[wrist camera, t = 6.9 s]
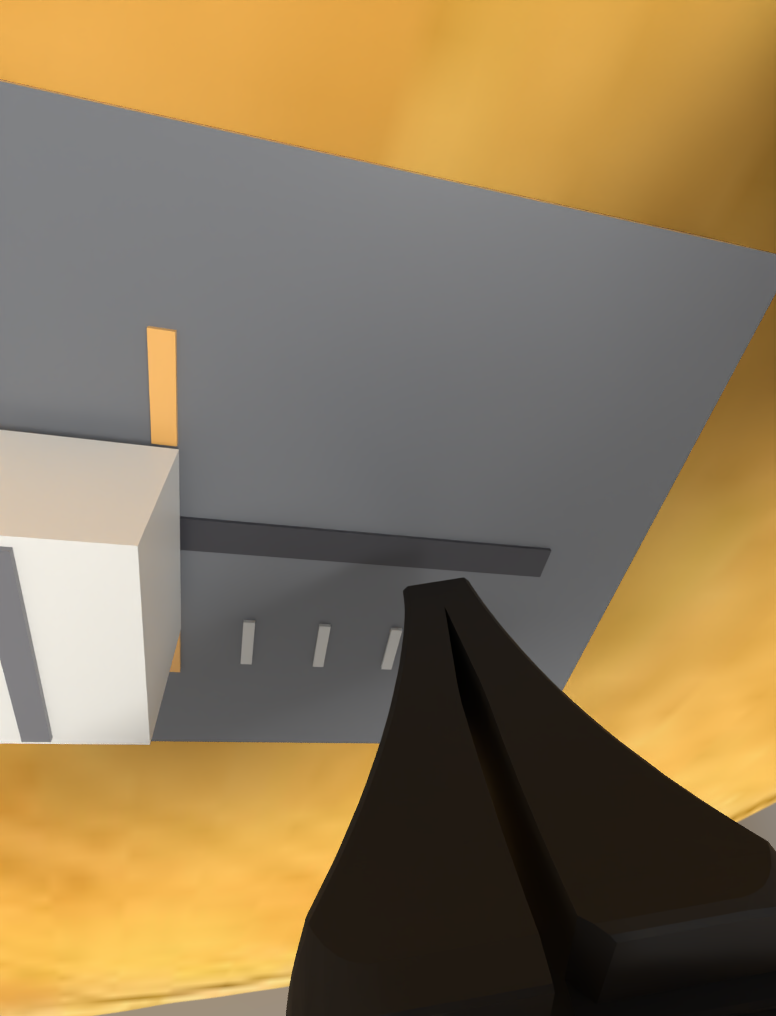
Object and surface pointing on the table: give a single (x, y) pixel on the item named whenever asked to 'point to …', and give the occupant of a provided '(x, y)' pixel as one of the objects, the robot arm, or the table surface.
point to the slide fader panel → (353, 391)
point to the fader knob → (86, 588)
